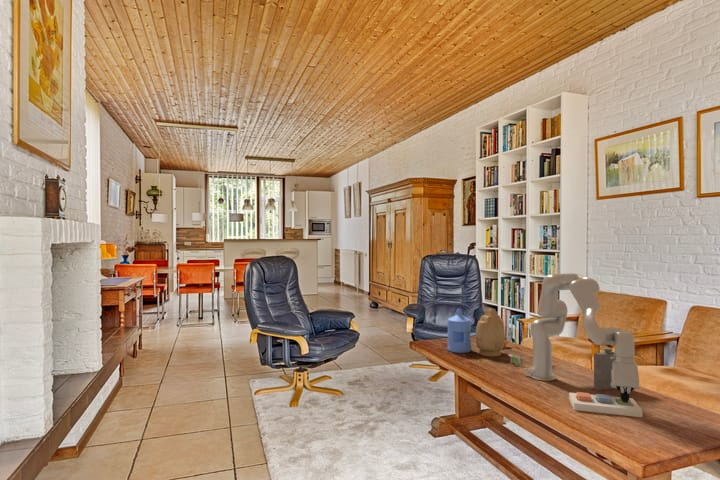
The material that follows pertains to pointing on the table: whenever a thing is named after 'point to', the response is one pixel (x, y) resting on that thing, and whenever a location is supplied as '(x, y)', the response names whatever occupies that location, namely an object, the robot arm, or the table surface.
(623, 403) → the olive green button
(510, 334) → the magic lamp
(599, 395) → the slate blue button
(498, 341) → the sculpture
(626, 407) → the button board
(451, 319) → the water jug
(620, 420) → the table surface
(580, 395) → the terracotta button
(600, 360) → the hip flask
